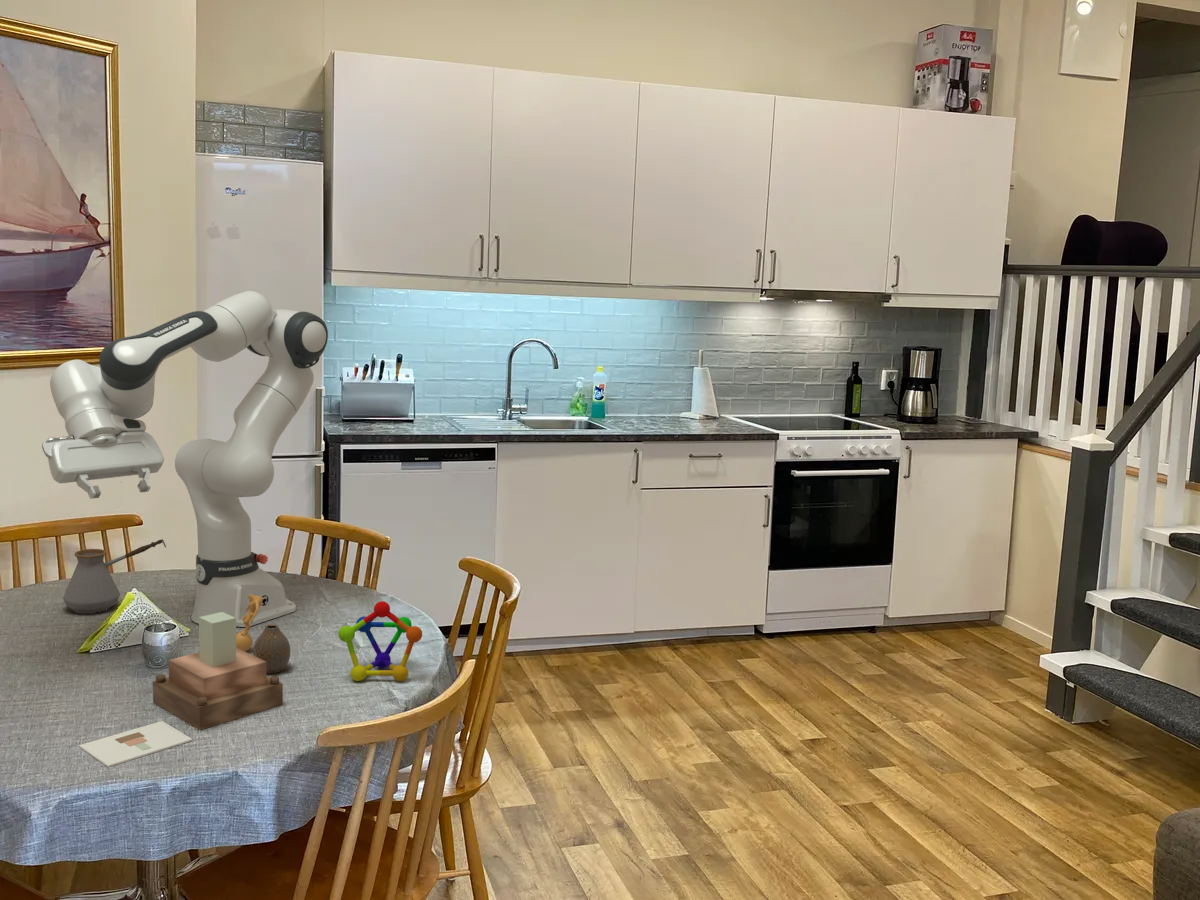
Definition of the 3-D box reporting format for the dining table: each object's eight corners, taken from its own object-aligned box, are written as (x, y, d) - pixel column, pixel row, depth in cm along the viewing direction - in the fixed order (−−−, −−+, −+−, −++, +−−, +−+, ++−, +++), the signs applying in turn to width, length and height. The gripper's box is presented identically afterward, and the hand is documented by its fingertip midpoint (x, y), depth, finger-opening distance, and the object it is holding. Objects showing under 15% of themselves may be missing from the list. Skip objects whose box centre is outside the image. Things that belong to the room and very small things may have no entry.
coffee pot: (62, 618, 237) (59, 551, 234) (64, 602, 247) (62, 538, 244) (168, 610, 245) (166, 545, 242) (166, 595, 255) (165, 533, 253)
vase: (297, 666, 215) (297, 623, 214) (276, 678, 209) (276, 634, 207) (267, 661, 217) (267, 618, 216) (245, 672, 211) (245, 629, 209)
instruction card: (162, 722, 187) (162, 720, 187) (192, 740, 180) (192, 738, 180) (79, 747, 176) (78, 744, 176) (107, 767, 170) (107, 764, 170)
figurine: (229, 645, 225) (229, 589, 223) (260, 643, 227) (259, 587, 225) (234, 659, 217) (233, 601, 215) (265, 656, 220) (265, 598, 218)
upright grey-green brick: (222, 654, 198) (222, 611, 196) (236, 661, 195) (235, 617, 193) (199, 660, 194) (198, 617, 193) (212, 667, 191) (212, 623, 190)
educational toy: (409, 663, 222) (417, 592, 220) (417, 688, 210) (426, 612, 208) (330, 661, 217) (338, 588, 215) (335, 686, 205) (343, 609, 203)
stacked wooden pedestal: (234, 679, 207) (234, 639, 206) (282, 704, 197) (282, 662, 195) (153, 702, 195) (152, 659, 194) (199, 730, 185) (199, 684, 183)
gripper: (43, 428, 199) (69, 490, 194) (151, 420, 214) (178, 477, 210) (34, 449, 203) (59, 510, 198) (141, 439, 218) (166, 496, 213)
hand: (121, 493), depth 204 cm, fingers open, 8 cm apart
